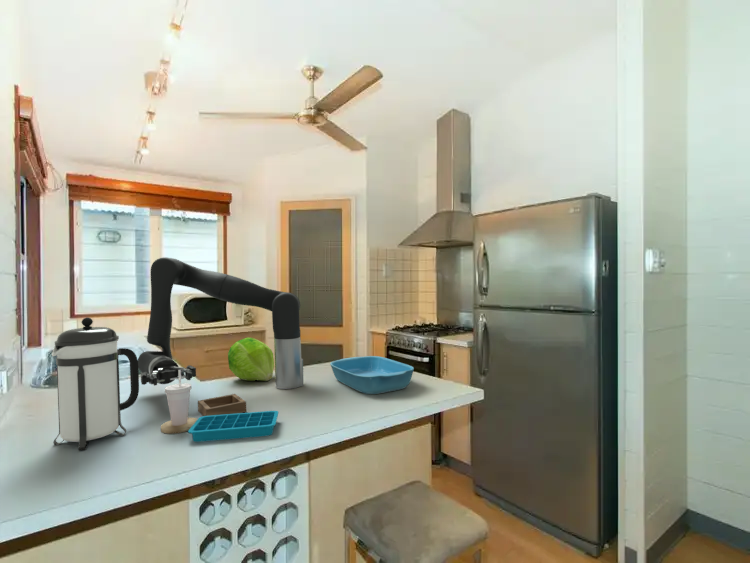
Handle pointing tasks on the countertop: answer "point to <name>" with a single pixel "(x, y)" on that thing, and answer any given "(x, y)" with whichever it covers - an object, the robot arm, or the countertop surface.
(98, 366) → the coffee press
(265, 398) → the countertop surface
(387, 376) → the casserole dish
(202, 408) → the square wooden frame
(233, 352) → the lettuce
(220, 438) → the ice cube tray
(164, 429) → the trivet
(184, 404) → the smoothie
